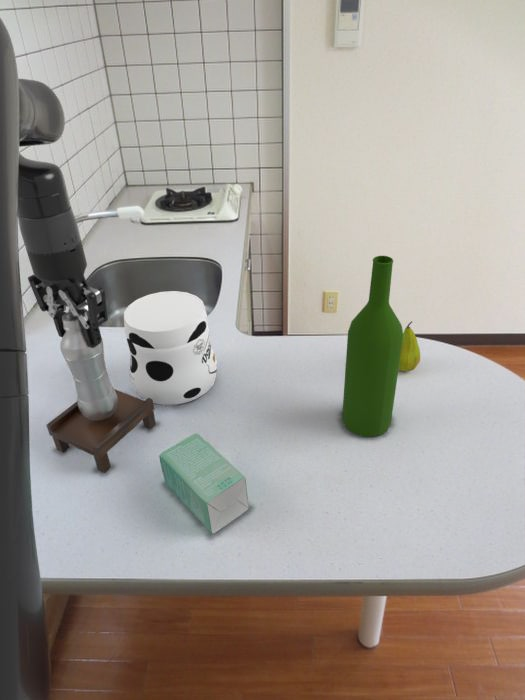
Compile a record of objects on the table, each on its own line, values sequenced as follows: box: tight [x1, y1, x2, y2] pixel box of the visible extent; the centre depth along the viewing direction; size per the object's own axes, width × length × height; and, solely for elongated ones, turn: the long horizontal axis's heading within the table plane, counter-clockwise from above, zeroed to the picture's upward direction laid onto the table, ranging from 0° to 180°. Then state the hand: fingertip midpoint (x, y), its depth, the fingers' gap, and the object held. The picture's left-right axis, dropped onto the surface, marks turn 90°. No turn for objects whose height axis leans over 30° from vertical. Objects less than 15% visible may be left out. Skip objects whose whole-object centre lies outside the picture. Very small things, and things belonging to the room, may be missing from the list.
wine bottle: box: [341, 255, 404, 438], centre depth 88 cm, size 9×9×32 cm
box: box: [158, 433, 250, 534], centre depth 82 cm, size 7×14×8 cm, turn 41°
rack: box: [45, 388, 157, 474], centre depth 94 cm, size 14×12×6 cm
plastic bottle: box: [59, 310, 118, 421], centre depth 87 cm, size 6×7×20 cm
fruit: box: [398, 320, 421, 372], centre depth 107 cm, size 6×6×12 cm
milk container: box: [123, 290, 218, 407], centre depth 103 cm, size 17×17×18 cm
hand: (80, 339), depth 84 cm, fingers closed on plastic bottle, 6 cm apart
